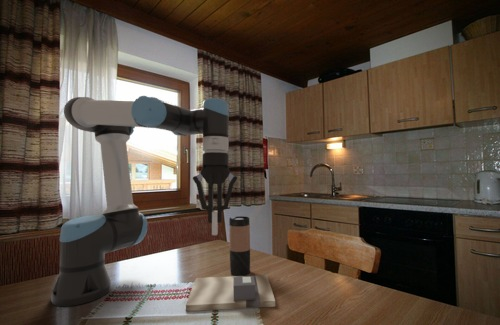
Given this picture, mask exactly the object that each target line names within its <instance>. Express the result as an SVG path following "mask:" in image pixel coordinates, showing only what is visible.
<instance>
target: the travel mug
mask: <svg viewBox="0 0 500 325" xmlns="http://www.w3.org/2000/svg"><path fill="white" fill-rule="evenodd" d="M228 225H229V227H228V228H229V229H228V230H229V238H228V239H229V263H230V268H229V270H230V274H231V276H249V274H250V273H251V234H250V233H251V232H250V231H251V230H250V229H251V228H250V217H249V216H243V215H242V216H241V215H239V216H235V217H234V218H232V217H229V224H228Z"/></svg>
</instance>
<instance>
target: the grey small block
mask: <svg viewBox="0 0 500 325" xmlns="http://www.w3.org/2000/svg"><path fill="white" fill-rule="evenodd" d="M246 276H247V277H234V284H233V287H234V301H241V300H256V294H255V281H254V276H253V275H246Z"/></svg>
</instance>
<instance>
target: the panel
mask: <svg viewBox="0 0 500 325" xmlns="http://www.w3.org/2000/svg"><path fill="white" fill-rule="evenodd" d="M247 276H248V275H246V276H233V275H231V276H209V277H207V276H206V277H196V278H195V280H194V283H193V286H192V288H191V291H190V293H189V296H188V299H187V301H186V303H185V312H193V311H198V312H199V311H209V310H210V311H212V310H213V311H216V310H231V309H232V310H233V309H234V310H235V309H251V308H252V309H254V307H256V308H271V307H272V308H273V307H276V299H275V296H274V293H273V289H272V287H271V283H270V281H269V280H270V279H269V278H268V275H267V274H257V275H252V276H254V281H255V294H256V300H241V301H234V287H233V284H234V277H247Z"/></svg>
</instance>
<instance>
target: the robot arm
mask: <svg viewBox="0 0 500 325" xmlns="http://www.w3.org/2000/svg"><path fill="white" fill-rule="evenodd" d="M229 110H230V109H229V103H228V101H226V100H224V99H222V98H218V97H211V98H210V97H209V98H206V99H204V100H203V102H202V108H198V109H197V108H196V109H187V108H185V107H183V106H179V105H176V104H173V103H169V102H167V101H164V100H161V99H160V98H157V97H154V96H148V95H140V96H139V97H138V98H135V99H126V100H125V99H98V100H97V99H94V98H92V97H88V96H77V97H73V98H71V99H69V100H68V101H67V102H66V103H65V105H64V108H63V115H64V118H65V119H66V121H67V122H68V123H69V125H71V126H72V127H74V128H76V129H77V130H80V131H83V132H89V133H93V134H94V139H95V141H96V142H98V143H99V145H100V151H101V160H102V161H101V162H102V170H103V172H102V173H103V181H104V188H105V190H104V191H105V198H106V199H105V203H106V209H105V210H104V211H103V212H102V214H91V215H85V216H81V217H76V218H72V219H70V220H68V221H65V222H64V223H63V224H62V226H61V228H60V235H59V238H58V239H59V274H58V276H57V277H56V281H55V284H54V286H53V289H52V291H51V297H50V298H51V300H50V301H51V304H52V305H53V306H56V307H72V306H77V305H78V306H79V305H83V304H86V303H89V302H93V301H95V300H98V299H100V298H101V297H104V296H105V295H107V293H109V291H110V290H111V278H110V276H109V273H108V271H107V268H106V265H105V263H106V262H105V258H106V255H105V254H108V253H109V254H110V253H112V252H115V251H118V250H122V249H126V248H132V247H133V246H135V245H138V244H139V243H141V242H142V241H143V240H144V238H145V237H146V236H147V232H148V221H147V220H148V219H147V217H146V216H145V215H144V214H143V213H141V212H140V211H139V207H138V206H137V205H135V204H134V200H133V190H132V184H131V173H130V164H129V163H130V162H129V154H128V147H127V142H128V141H129V140H130V139H131V137H130V136H131V135H133V133H134V129H135V127H136V128H137V127H138V128H147V129H149V128H151V129H159V130H164V131H169V132H171V133H173V134H174V135H175V136H184V137H185V136H186V137H187V136H191V135H192V136H193V135H200V134H202V151H203V153H202V167H201V170H200V173H198V174H197V175H194V176H192V180H193V182H194V184H195V185H196V189H197V193H198V199H199V203H200V207H201V209H202V210H205V211H207V221H208V223H210V224H211V235H212V236H218V234H219V228H218V227H219V223H222V220H223V217H222V216H223V213H222V212H223V211H225V210H227V209H229V204H230V199H231V197H232V192H233V188H234V187H233V186H234V184H235V182H236V181H237V180H238V177H237V176H235V175H233V174H232V173H231V171H230V169H229V153H227V152H229V148H230V147H229V144H230V142H229V123H230V122H229V121H230V120H229V119H230V118H229V117H230V114H229ZM228 177H229V178H228ZM227 178H228V181H229V183H228V188H227V192H226V195H225V199H224V204H223V184H224V183H225V181H226V180H227ZM203 179H204V181H205V183H207V187H208V190H207V196H208V197H207V201H206V197H205V191H204V187H203V184H202V181H203ZM214 185H216V186H217V188H216V189H217V192H216V194H217V195H216V199H217V200H216V203H217V205H216V208H217V210H214Z"/></svg>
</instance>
